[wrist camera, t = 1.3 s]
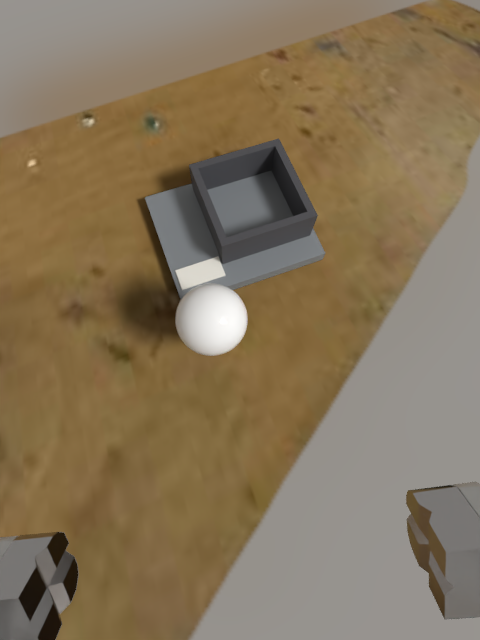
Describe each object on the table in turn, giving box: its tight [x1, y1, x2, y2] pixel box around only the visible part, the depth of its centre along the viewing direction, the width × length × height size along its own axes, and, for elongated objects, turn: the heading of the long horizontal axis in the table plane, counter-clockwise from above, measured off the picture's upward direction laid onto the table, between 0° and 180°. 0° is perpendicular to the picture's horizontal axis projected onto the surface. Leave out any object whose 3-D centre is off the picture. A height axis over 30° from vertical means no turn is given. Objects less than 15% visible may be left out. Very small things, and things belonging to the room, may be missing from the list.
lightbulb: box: [175, 283, 248, 356], centre depth 36 cm, size 6×6×11 cm
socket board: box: [145, 139, 325, 299], centre depth 42 cm, size 17×14×6 cm
